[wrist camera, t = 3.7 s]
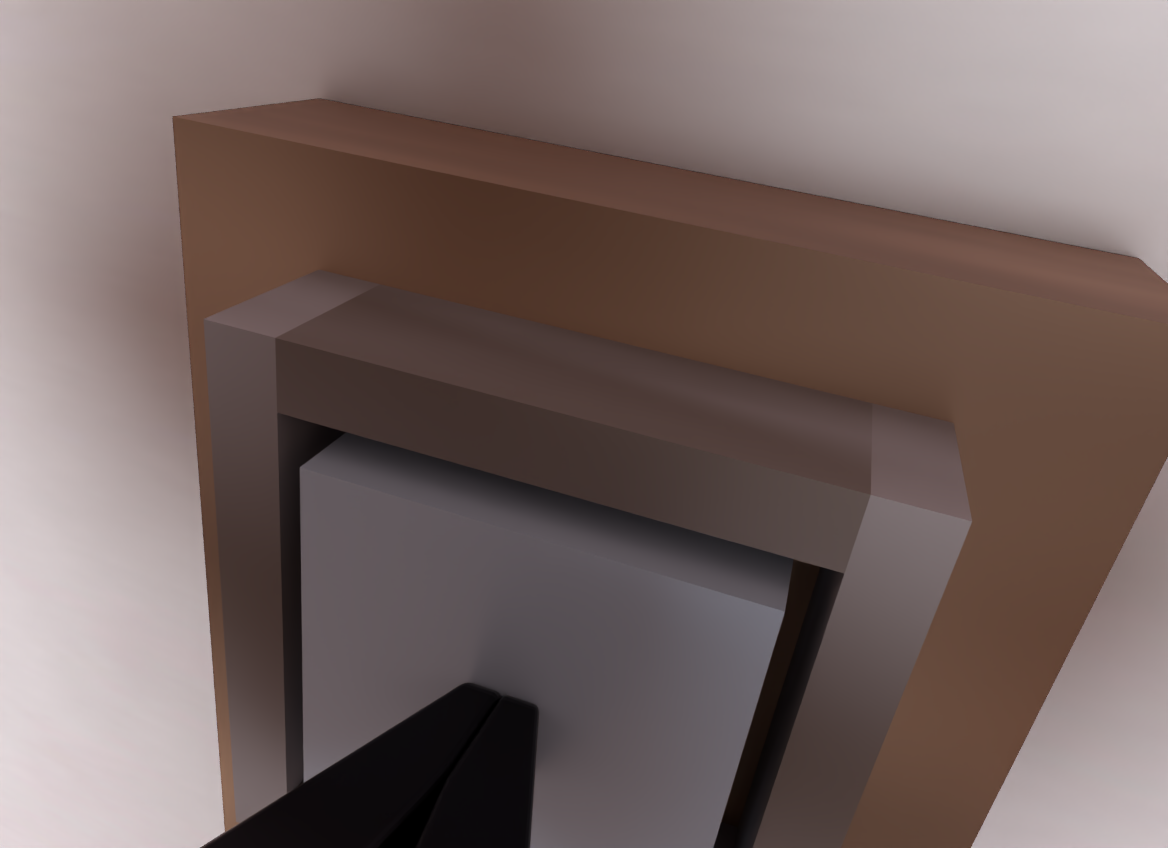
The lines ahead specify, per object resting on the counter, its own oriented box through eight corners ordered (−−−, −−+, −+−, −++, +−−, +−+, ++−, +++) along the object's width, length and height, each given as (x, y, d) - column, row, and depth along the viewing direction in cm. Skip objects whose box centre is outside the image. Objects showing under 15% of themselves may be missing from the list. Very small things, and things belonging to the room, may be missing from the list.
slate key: (711, 810, 11) (681, 950, 10) (384, 695, 12) (303, 803, 11) (803, 502, 9) (785, 611, 8) (398, 393, 10) (300, 467, 9)
